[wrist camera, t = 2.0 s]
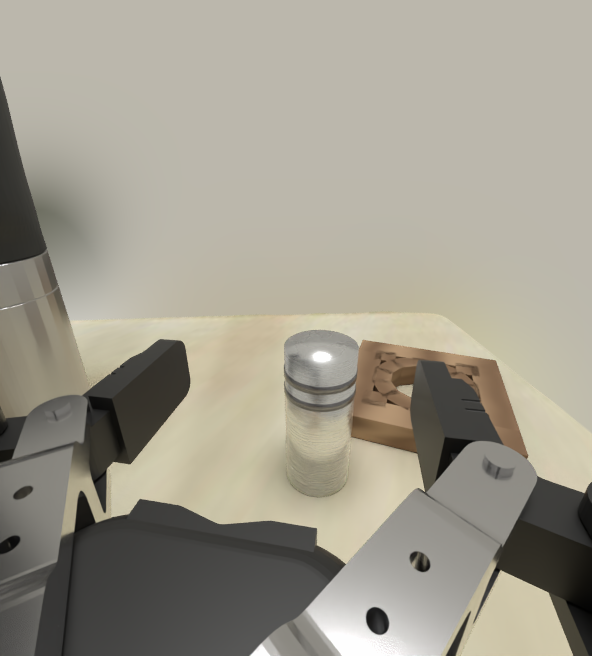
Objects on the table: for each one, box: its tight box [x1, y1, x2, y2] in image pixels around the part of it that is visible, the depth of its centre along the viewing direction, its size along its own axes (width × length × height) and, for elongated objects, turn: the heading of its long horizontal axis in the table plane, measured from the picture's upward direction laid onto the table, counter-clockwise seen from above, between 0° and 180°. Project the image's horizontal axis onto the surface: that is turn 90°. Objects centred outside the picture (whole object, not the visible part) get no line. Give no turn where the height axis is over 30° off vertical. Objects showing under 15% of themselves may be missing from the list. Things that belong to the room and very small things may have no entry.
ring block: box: [351, 340, 528, 459], centre depth 37 cm, size 16×16×2 cm
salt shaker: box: [284, 330, 359, 497], centre depth 26 cm, size 5×5×12 cm
